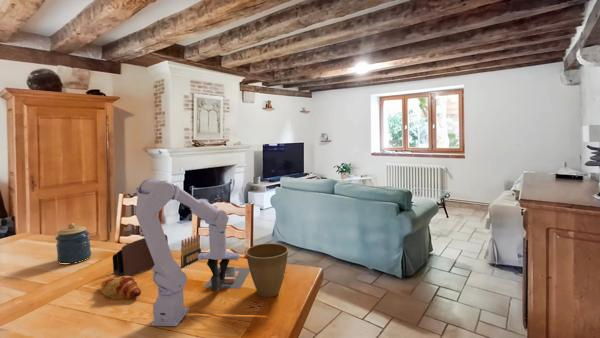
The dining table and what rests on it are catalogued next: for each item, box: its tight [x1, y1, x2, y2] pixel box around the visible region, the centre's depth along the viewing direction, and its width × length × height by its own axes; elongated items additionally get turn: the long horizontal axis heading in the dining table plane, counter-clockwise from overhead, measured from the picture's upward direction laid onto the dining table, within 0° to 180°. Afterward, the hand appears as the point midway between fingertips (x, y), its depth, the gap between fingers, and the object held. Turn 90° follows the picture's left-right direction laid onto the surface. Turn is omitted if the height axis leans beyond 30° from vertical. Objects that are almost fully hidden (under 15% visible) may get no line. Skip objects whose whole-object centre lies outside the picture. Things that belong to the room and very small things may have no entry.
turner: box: [210, 265, 236, 292], centre depth 116 cm, size 12×8×5 cm
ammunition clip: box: [180, 233, 202, 268], centre depth 143 cm, size 11×2×12 cm, turn 153°
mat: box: [203, 267, 250, 290], centre depth 127 cm, size 18×14×1 cm
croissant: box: [100, 276, 142, 300], centre depth 116 cm, size 21×10×8 cm
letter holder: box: [112, 234, 169, 277], centre depth 139 cm, size 10×20×14 cm, turn 144°
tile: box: [224, 271, 239, 283], centre depth 126 cm, size 2×7×7 cm
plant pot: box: [245, 242, 289, 298], centre depth 114 cm, size 15×15×16 cm
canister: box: [55, 222, 92, 264], centre depth 149 cm, size 13×13×18 cm
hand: (219, 278), depth 116 cm, fingers closed on turner
